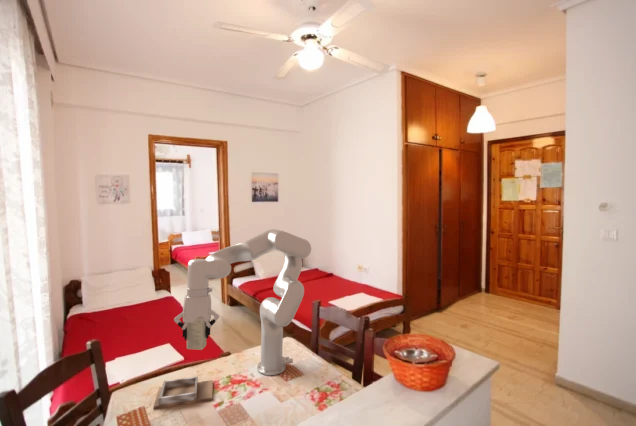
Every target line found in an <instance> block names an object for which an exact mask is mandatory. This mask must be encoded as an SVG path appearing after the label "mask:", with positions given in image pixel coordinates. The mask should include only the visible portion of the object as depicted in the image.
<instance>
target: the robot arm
mask: <svg viewBox="0 0 636 426" xmlns="http://www.w3.org/2000/svg"><path fill="white" fill-rule="evenodd" d="M273 250H275V251H278V252H281V253H283V256H284V263H283V265H282V268H281V270H280V272H279V274H278V275H277V278H276V280H275V282H274V284H273V289H272V290H273V292H274V293H275V295H277V296H278V297H280V298H281V299H278V298H276V297H274V296H273V297H272V296H271V297H266V298H265V299H263V300H262V302H261V303H260V304H259V305H260V306H259V318H260V322H261V323H260V325H261V328H260V331H261V332H260V337H261V338H260V339H261V340H260V361H259V362H258V364H257V366H256V369H257V370H256V371H257V372H259V373H260V374H262V375H264V376H277V375H280V374H281V373H283V372H284V371H285V370H286V368H287V367H286V365H287V364H293V363H294V359H293V358H292V357H291V358H290V357H289V356H284V355H283V351H284V348H283V346H284V345H283V343H284V342H283V341H284V335H283V334H284V327H287V326H288V325H290V323H292V321H293V319H294V318H295V316H296V313H297V311H298V309H299V307H300V305H301V303H302V301H303V298H304V296H305V287H304V284H303V283H302V282H301V281H300V280H298V279H299V276H300V274H301V272H302V269H303V261H302V259H305V258H307V257H309V256H310V254H311V252H312V245H311V243H310V242H309V241H308V240H307V239H305V238H302V237H300V236H297V235H294V234H291V233H290V232H287V231H284V230H279V229H276V228H275V229H271V228H270V229H268V230H266V231H264V232H262V233H260V234H258V235H255V236H254V237H252V238H249V239H247V240H245V241H243V242H239V243H236V244H233V245H230V246H227V247H224V248H221V249H219V250H217V251H215V252H213V253H211V254H210V255H208V256H207V257H206V258H195V259H194V258H193V259H190V260H189V261H188V263H187V285H186V287H187V291H186V294H185V296H184V300H183V307H182V311H181V313H179V314H178V315H177V316H175V317H174V319H173V321H174V323H176V324H177V326H178V327H180V328H181V330H182V338H184V339H183V340H184V341H187V325H188V323H193V322H194V321H195V319H196V318H204V322H205V323H206V324H207V329H206V338H207V339H209V336H210V335H211V327H212V326H213V325H215V323H216V322H217V321H218V320H219V318H220V315H219V314H218V313H217V312H215V311H214V310H213V309H212V298H211V294H210V293H212V292H213V288H212V287H209V279H224V278H226V277H227V276H229V275H230V274H231V272H232V265H231V264H235V263H238V262H249V261H250V262H251V261H255V260H256V259H259V258H261V256H264V255H266V254H268V253H270V252H272V251H273ZM212 316H213V319H212ZM181 318H182V321H181Z"/></svg>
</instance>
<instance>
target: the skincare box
mask: <svg viewBox="0 0 636 426" xmlns="http://www.w3.org/2000/svg"><path fill="white" fill-rule="evenodd" d="M206 329H207V324H206V323H205V322H204V318H196V319H195V321H194V322H193V323H188V325H187V340H186V349H187V350H197V351H199V350H200V351H202V350H203V349H205V347H206V346H207V339H208V338H206Z"/></svg>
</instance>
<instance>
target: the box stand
mask: <svg viewBox="0 0 636 426" xmlns="http://www.w3.org/2000/svg"><path fill="white" fill-rule="evenodd" d="M213 383H214V381H213V379H212V380H205V381H199V376H191V377H184V378H176V379H169V380H163V383H162V386H161V387H160V386H159V387H158V390H157V393H156V397H155V400H154V403H153V410H157V409H158V410H159V409H163V408H171V407H175V406H176V407H177V406H184V405H190V404H195V403H204V402H209V401H213Z"/></svg>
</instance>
